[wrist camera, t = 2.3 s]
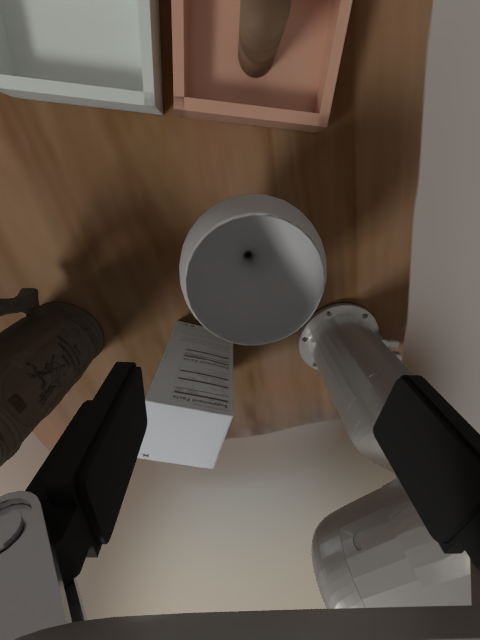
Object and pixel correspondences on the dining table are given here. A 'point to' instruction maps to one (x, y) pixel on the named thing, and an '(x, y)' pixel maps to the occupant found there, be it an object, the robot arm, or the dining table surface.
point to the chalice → (253, 269)
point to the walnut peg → (260, 34)
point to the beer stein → (40, 362)
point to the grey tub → (83, 53)
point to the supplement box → (190, 399)
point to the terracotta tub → (274, 87)
